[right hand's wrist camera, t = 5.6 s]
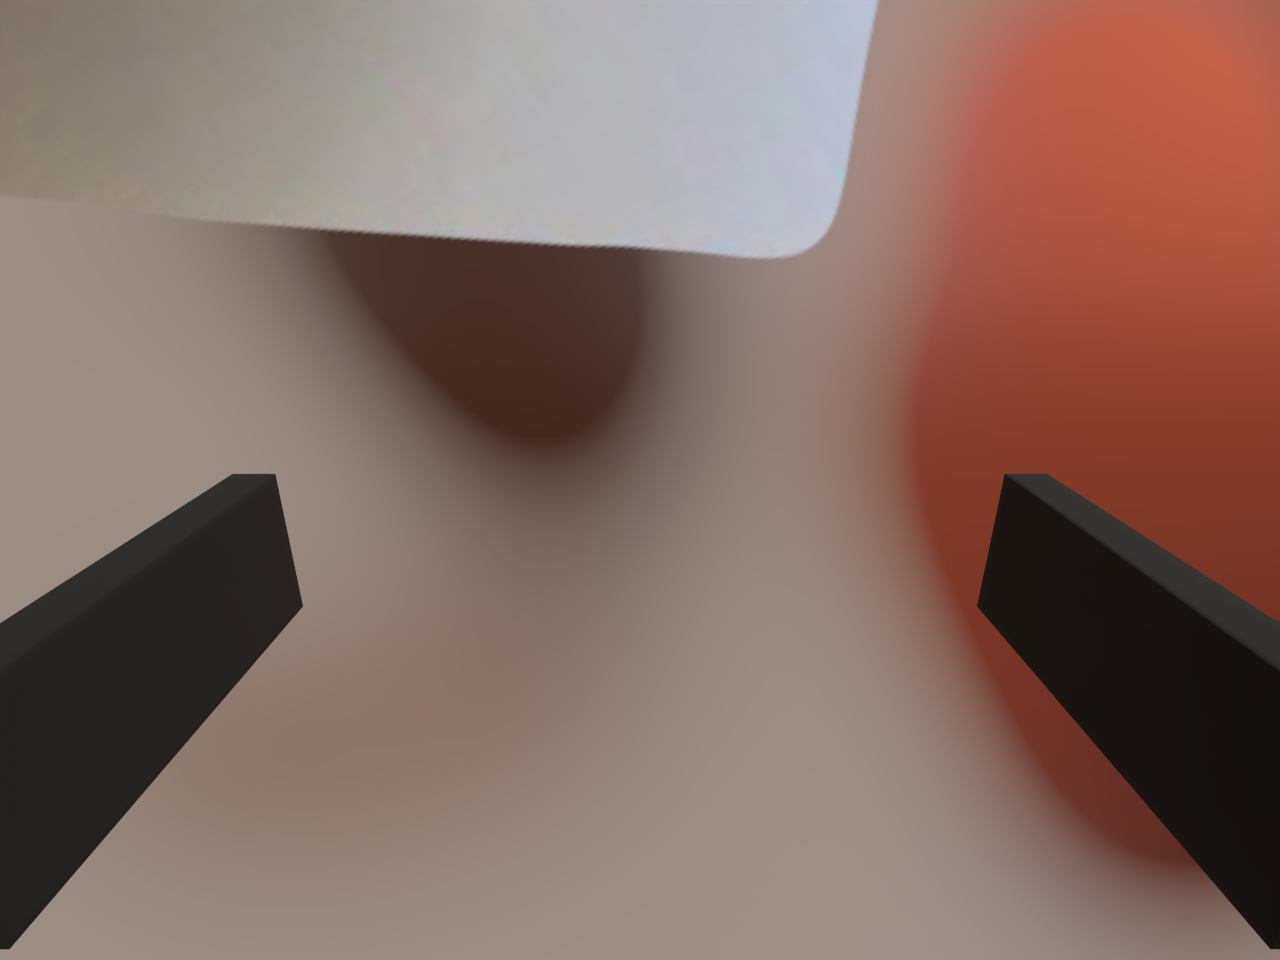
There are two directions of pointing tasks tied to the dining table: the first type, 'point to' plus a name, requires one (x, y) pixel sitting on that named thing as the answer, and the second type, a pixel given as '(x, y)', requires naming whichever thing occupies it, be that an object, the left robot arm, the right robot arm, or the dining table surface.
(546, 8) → the dining table surface
